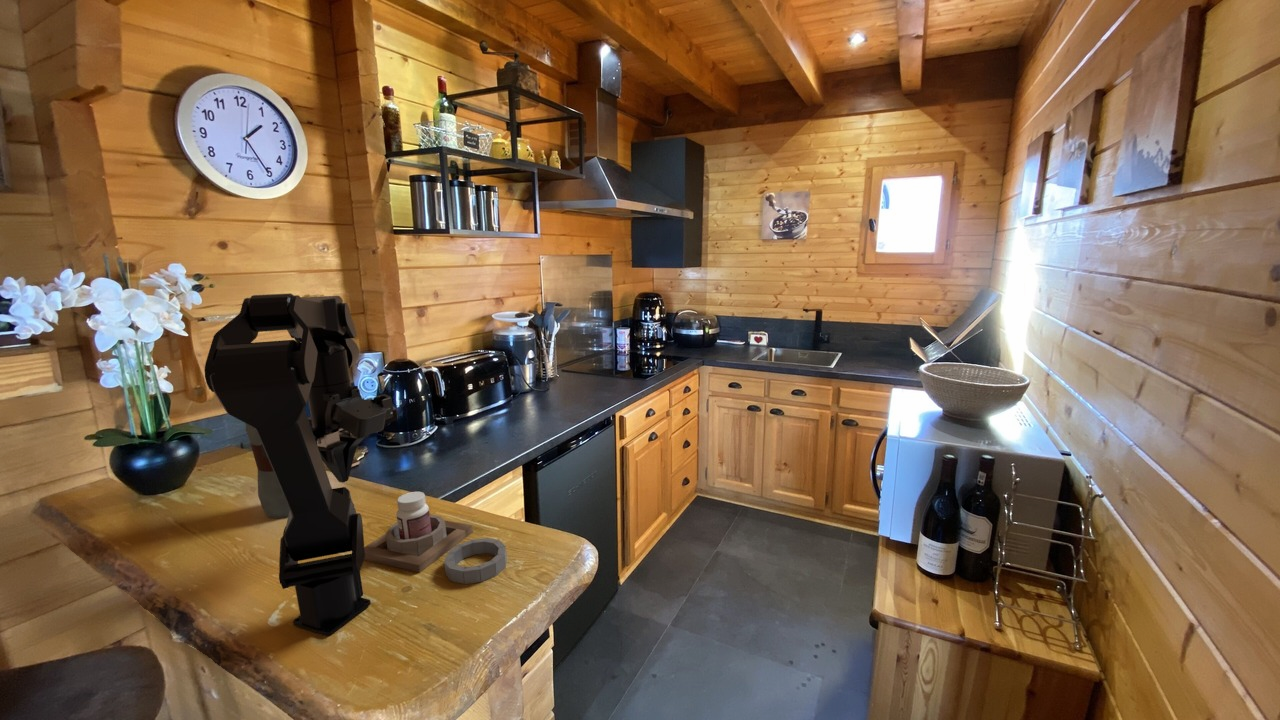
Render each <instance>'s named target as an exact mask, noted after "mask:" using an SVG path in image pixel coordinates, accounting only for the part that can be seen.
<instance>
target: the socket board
mask: <svg viewBox="0 0 1280 720" xmlns="http://www.w3.org/2000/svg"><path fill="white" fill-rule="evenodd" d="M430 521H431V530H432V532H431V533H430V534H427V535H424V536H422V537H419V538H414V539H405V540H403V539H400V536H399V529H398V522H396V523H394V524H392V525H390V526H389V528H388V529H387V531H386V533H385V534H383V535H382V536H380V537H378V538H377V539H375V540H374V541H372V542H369V543H368V544H367V545H364V550H365V557H364V560H365V561H368V562H372V563H376V564H377V563H378V564H381V565H386V566H390V567H395V568H398V569H403V570H408V571H411V572H415V573H421V572H423V571H425V570H426V568H428V567H429V566H430V565H432V564H433V563H434V562H436V561H437V560H439V558H441V557H443V556H444V555H445V554H447V553H448V552H449V551H450V550H452V549H453V548H454V547H456V546H457V545H459V544H460V542H462V541H463V540H465V539H466V538H467V537H469V536H470V535H471V534H472V533H473V530H474V529H473V525H471V524H466V523H461V522H455V521H450V520H444V519H443V517H442V516H440V515H436V514H431V513H430ZM364 560H363V561H364Z"/></svg>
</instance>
